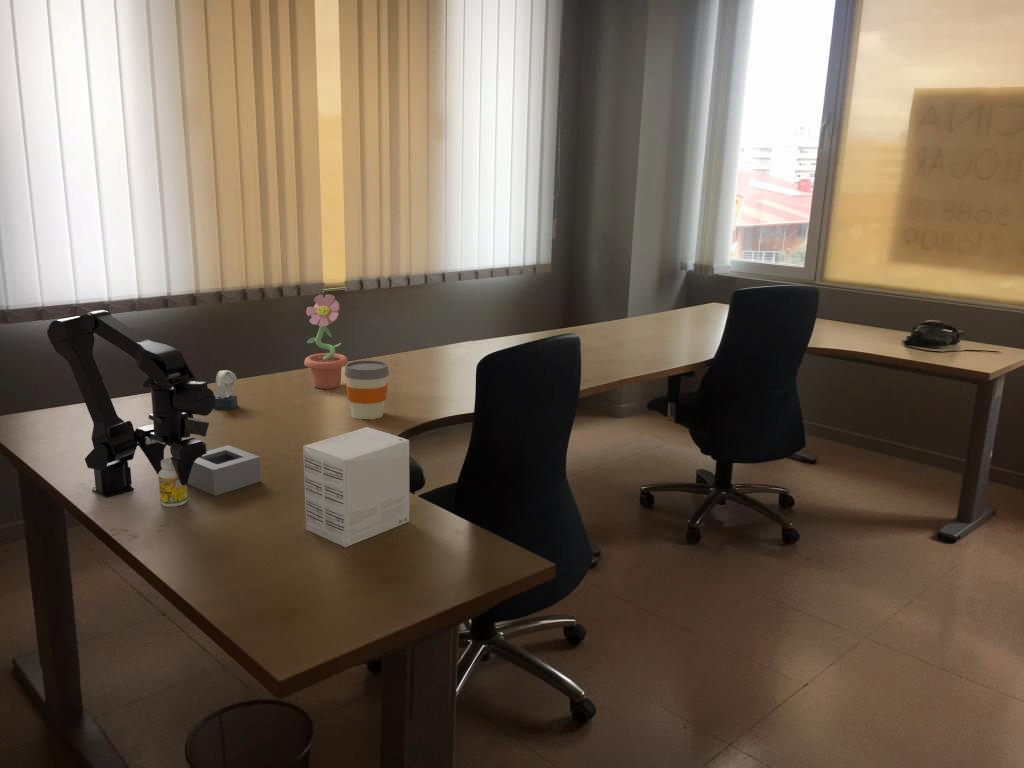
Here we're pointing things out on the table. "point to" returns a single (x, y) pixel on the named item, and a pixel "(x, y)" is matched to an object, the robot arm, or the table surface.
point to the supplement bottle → (171, 486)
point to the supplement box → (356, 485)
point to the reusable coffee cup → (366, 388)
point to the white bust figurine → (224, 396)
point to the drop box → (225, 470)
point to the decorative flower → (325, 345)
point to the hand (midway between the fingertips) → (172, 479)
